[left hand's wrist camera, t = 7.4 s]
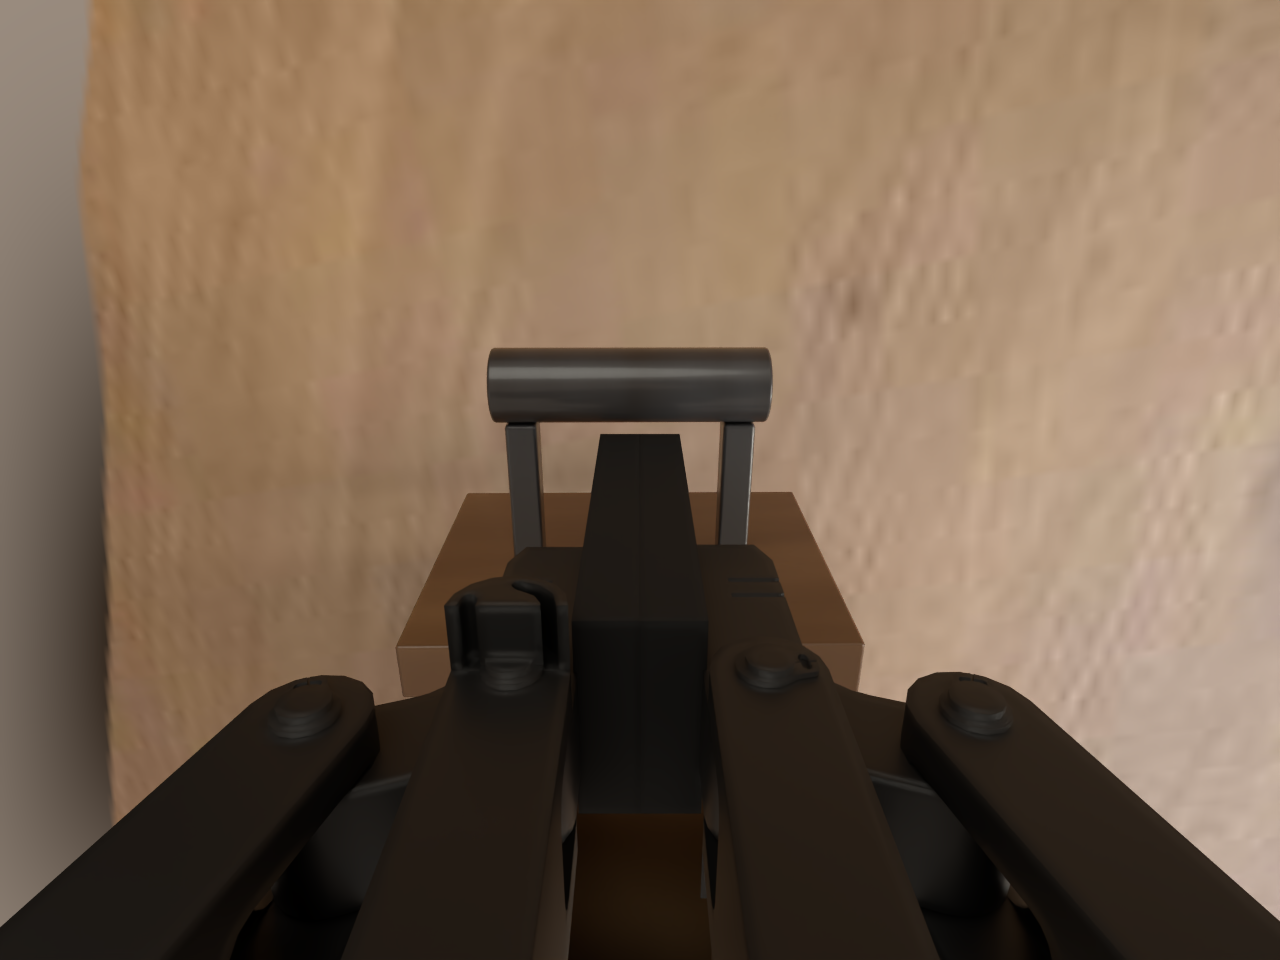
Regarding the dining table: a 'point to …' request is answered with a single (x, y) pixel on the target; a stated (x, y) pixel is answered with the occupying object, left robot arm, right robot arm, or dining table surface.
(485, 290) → the dining table surface
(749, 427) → the drawer
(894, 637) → the dining table surface
